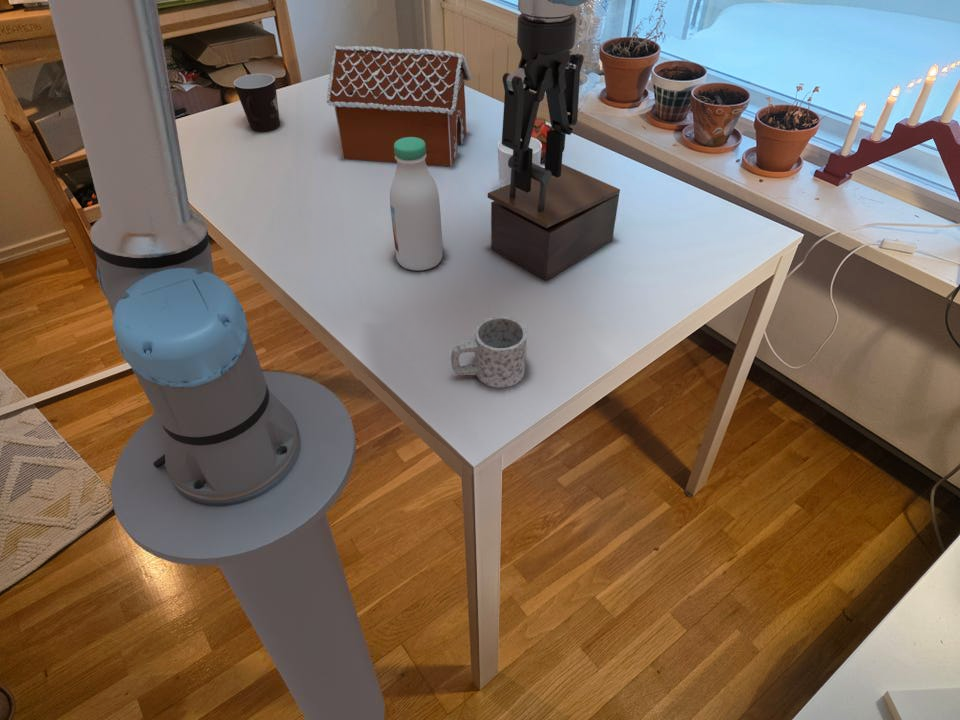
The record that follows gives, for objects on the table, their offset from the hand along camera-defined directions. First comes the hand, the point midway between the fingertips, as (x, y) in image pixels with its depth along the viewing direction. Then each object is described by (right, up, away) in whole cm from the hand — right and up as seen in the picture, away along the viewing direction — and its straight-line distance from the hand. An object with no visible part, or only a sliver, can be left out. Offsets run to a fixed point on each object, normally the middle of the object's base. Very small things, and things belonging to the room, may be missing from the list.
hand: (537, 180), depth 98 cm
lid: (+3, -1, +5) cm, 6 cm away
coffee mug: (-58, +24, +47) cm, 78 cm away
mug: (-8, -29, -11) cm, 32 cm away
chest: (+3, -8, +12) cm, 14 cm away
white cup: (-2, +4, +24) cm, 24 cm away
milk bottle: (-19, -10, +9) cm, 23 cm away
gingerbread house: (-24, +18, +40) cm, 50 cm away
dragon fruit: (+3, +15, +36) cm, 39 cm away
